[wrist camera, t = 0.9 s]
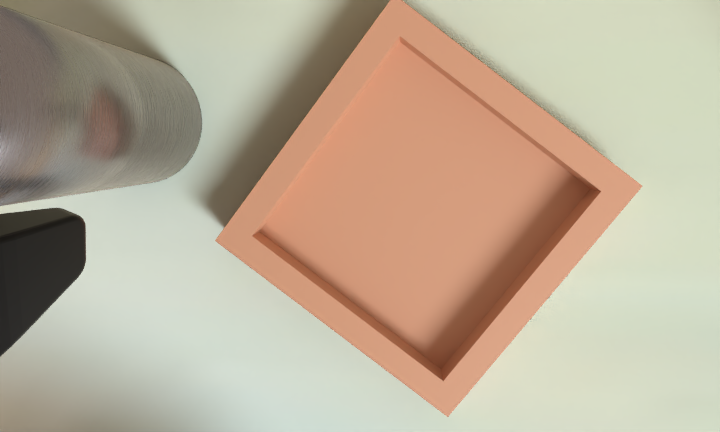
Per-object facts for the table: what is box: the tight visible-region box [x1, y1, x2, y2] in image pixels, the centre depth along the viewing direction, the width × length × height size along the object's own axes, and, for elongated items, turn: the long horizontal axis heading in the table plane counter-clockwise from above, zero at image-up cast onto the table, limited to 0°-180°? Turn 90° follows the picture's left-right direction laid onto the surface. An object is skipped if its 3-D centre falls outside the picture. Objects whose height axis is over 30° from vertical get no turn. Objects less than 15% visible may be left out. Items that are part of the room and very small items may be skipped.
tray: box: [215, 0, 642, 417], centre depth 22 cm, size 11×11×2 cm
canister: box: [0, 6, 202, 206], centre depth 17 cm, size 5×5×13 cm
